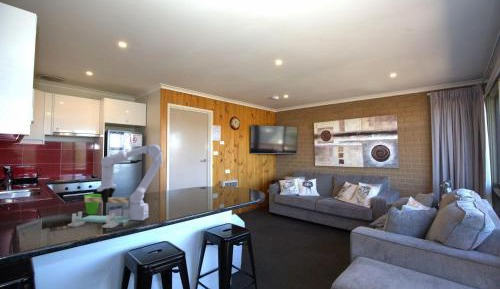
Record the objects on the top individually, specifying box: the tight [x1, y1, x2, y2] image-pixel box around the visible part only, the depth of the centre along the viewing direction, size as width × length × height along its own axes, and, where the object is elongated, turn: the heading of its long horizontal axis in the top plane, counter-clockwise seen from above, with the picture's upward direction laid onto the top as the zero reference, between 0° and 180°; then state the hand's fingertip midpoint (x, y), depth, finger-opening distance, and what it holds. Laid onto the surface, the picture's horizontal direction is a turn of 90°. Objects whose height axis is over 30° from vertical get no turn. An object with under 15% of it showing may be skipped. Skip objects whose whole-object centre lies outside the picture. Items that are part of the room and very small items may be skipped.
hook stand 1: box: [67, 211, 87, 228], centre depth 128 cm, size 5×6×6 cm
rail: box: [84, 196, 130, 204], centre depth 138 cm, size 24×2×2 cm, turn 88°
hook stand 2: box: [101, 212, 120, 229], centre depth 127 cm, size 5×6×6 cm
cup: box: [83, 193, 101, 215], centre depth 152 cm, size 9×9×11 cm
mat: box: [82, 215, 130, 224], centre depth 138 cm, size 26×10×1 cm, turn 88°
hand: (106, 202), depth 138 cm, fingers closed on rail, 2 cm apart
